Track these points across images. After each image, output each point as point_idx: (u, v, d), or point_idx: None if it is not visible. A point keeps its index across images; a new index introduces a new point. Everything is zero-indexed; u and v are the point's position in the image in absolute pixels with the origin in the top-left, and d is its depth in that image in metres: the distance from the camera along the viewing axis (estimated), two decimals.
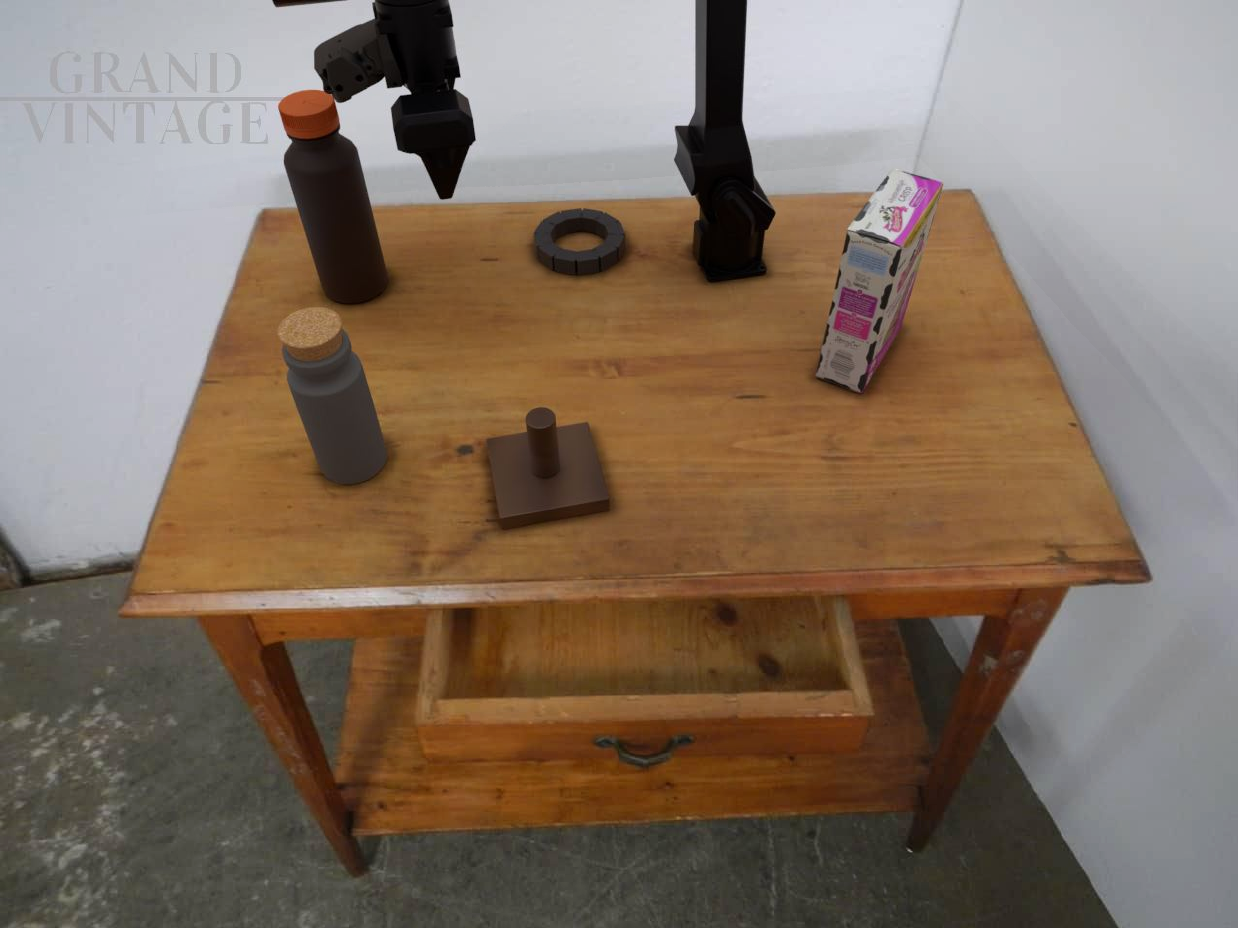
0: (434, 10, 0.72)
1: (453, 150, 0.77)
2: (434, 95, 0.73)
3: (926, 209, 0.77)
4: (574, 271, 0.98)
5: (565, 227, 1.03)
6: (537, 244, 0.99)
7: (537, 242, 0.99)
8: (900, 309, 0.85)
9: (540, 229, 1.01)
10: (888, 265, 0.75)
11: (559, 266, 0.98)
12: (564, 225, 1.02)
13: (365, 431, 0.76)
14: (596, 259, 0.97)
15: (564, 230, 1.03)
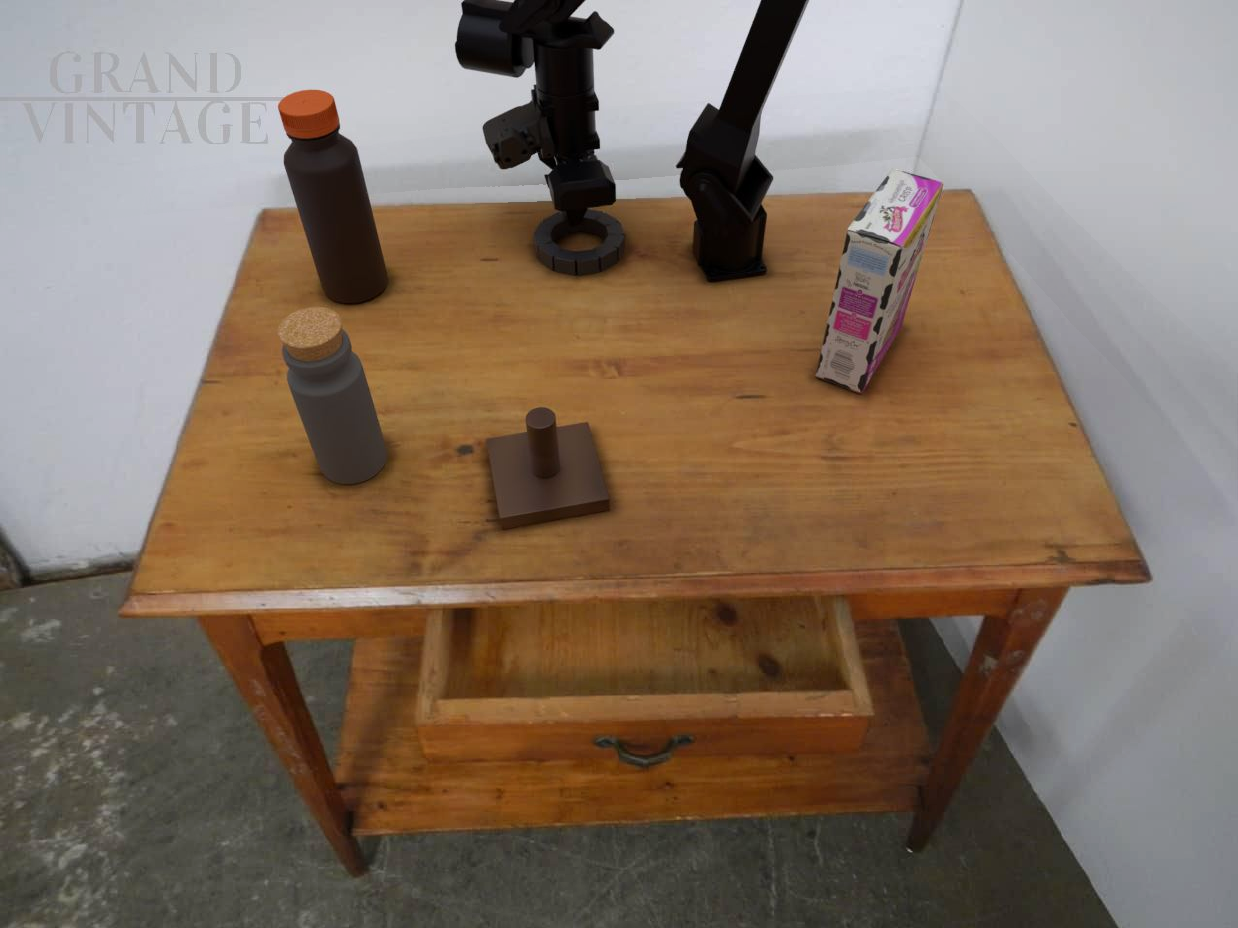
0: (586, 98, 0.91)
1: None
2: (584, 165, 0.92)
3: (926, 209, 0.77)
4: (574, 271, 0.98)
5: (565, 227, 1.03)
6: (537, 244, 0.99)
7: (537, 242, 0.99)
8: (900, 309, 0.85)
9: (540, 229, 1.01)
10: (888, 265, 0.75)
11: (559, 266, 0.98)
12: (564, 225, 1.02)
13: (365, 431, 0.76)
14: (596, 259, 0.97)
15: (564, 230, 1.03)
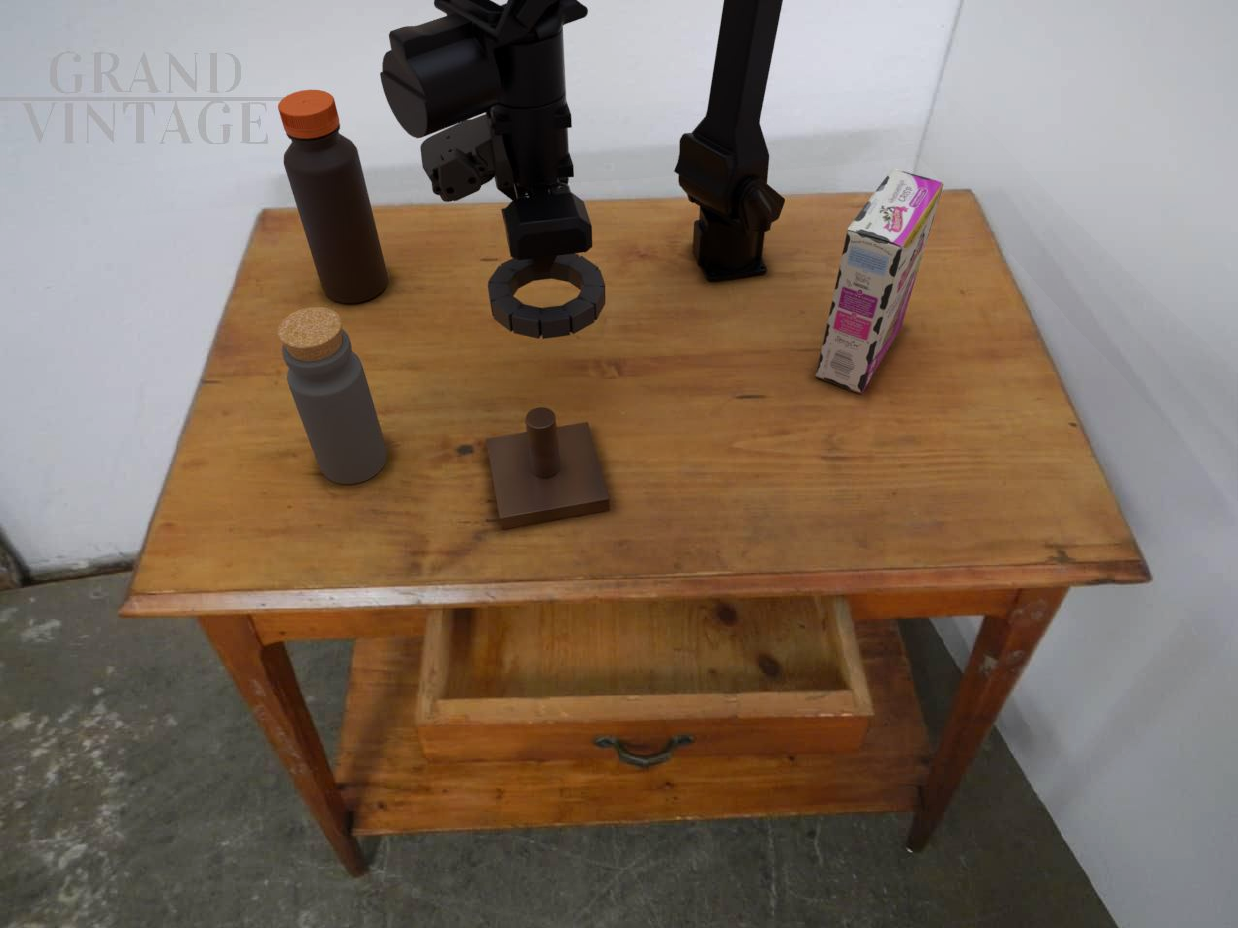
0: (554, 111, 0.69)
1: None
2: (550, 199, 0.70)
3: (926, 209, 0.77)
4: (538, 334, 0.76)
5: (530, 274, 0.80)
6: (491, 297, 0.77)
7: (491, 294, 0.77)
8: (900, 309, 0.85)
9: (496, 277, 0.79)
10: (888, 265, 0.75)
11: (518, 327, 0.76)
12: (528, 271, 0.80)
13: (365, 431, 0.76)
14: (566, 319, 0.75)
15: (529, 278, 0.81)
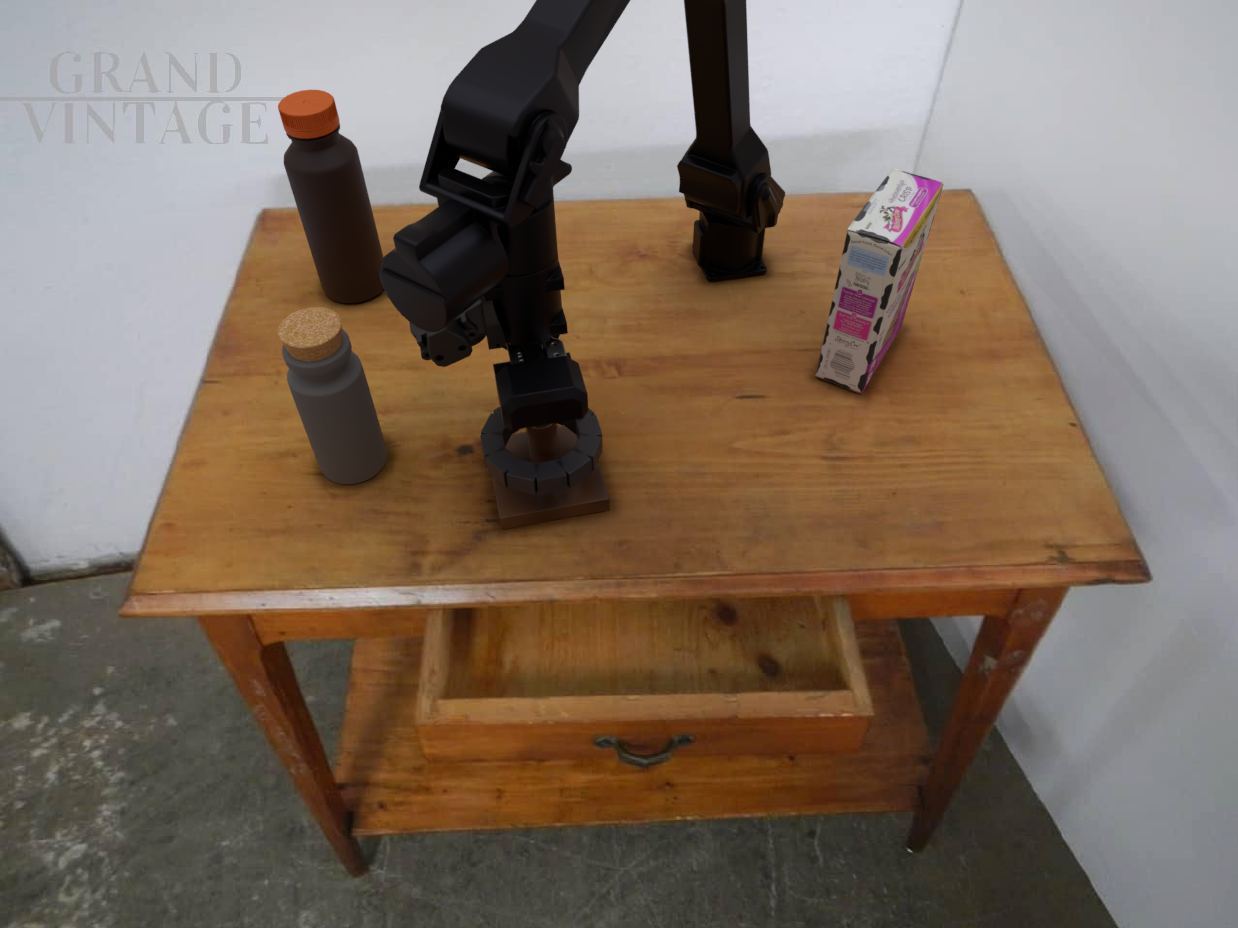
0: (546, 276, 0.66)
1: None
2: (543, 365, 0.67)
3: (926, 209, 0.77)
4: (534, 490, 0.73)
5: None
6: (484, 452, 0.74)
7: (484, 448, 0.74)
8: (900, 309, 0.85)
9: (489, 426, 0.76)
10: (888, 265, 0.75)
11: (514, 484, 0.73)
12: None
13: (365, 431, 0.76)
14: (563, 476, 0.72)
15: None
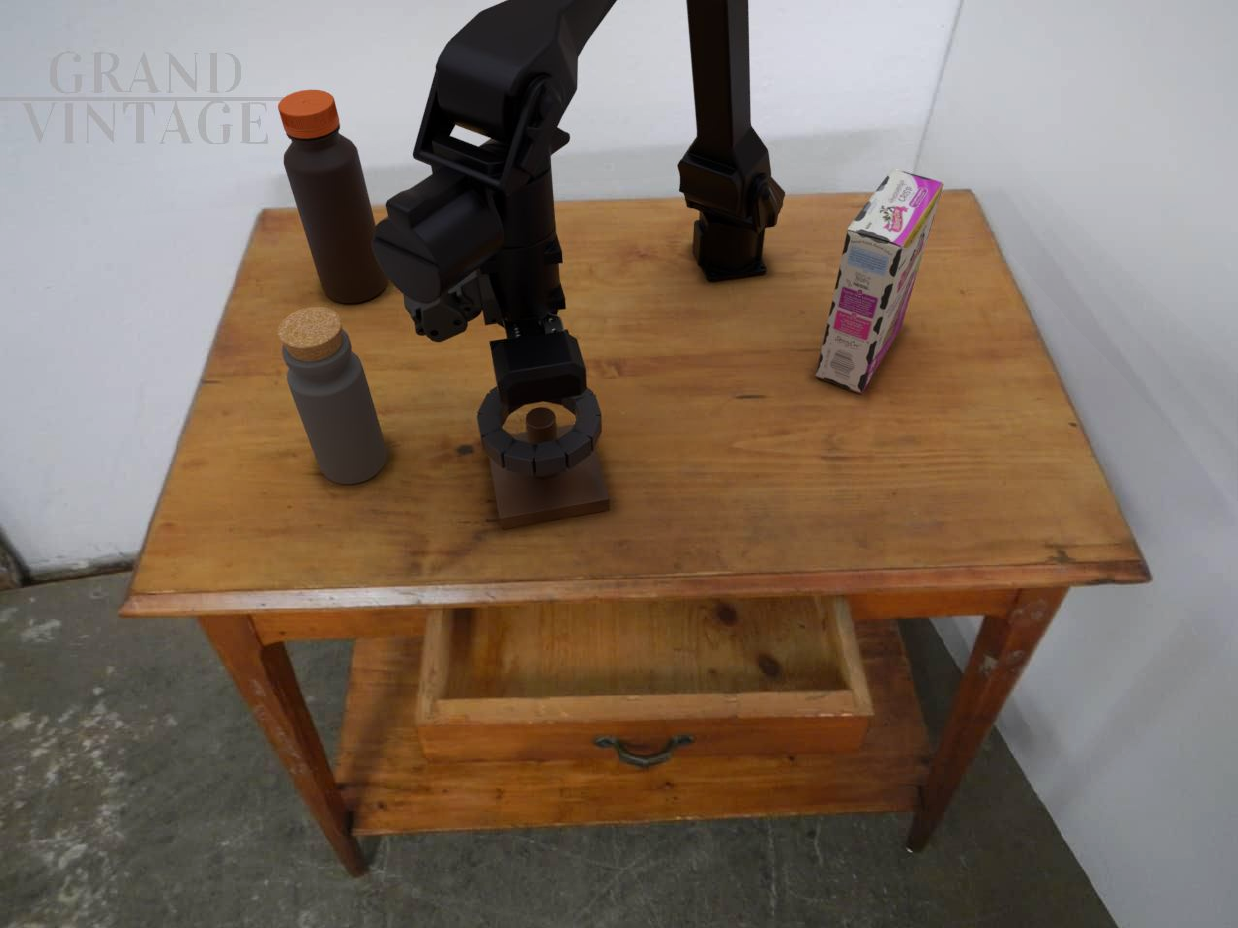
0: (543, 248, 0.64)
1: None
2: (541, 340, 0.65)
3: (926, 209, 0.77)
4: (532, 472, 0.71)
5: None
6: (481, 432, 0.72)
7: (481, 429, 0.73)
8: (900, 309, 0.85)
9: (486, 406, 0.74)
10: (888, 265, 0.75)
11: (511, 465, 0.71)
12: None
13: (365, 431, 0.76)
14: (562, 457, 0.71)
15: None
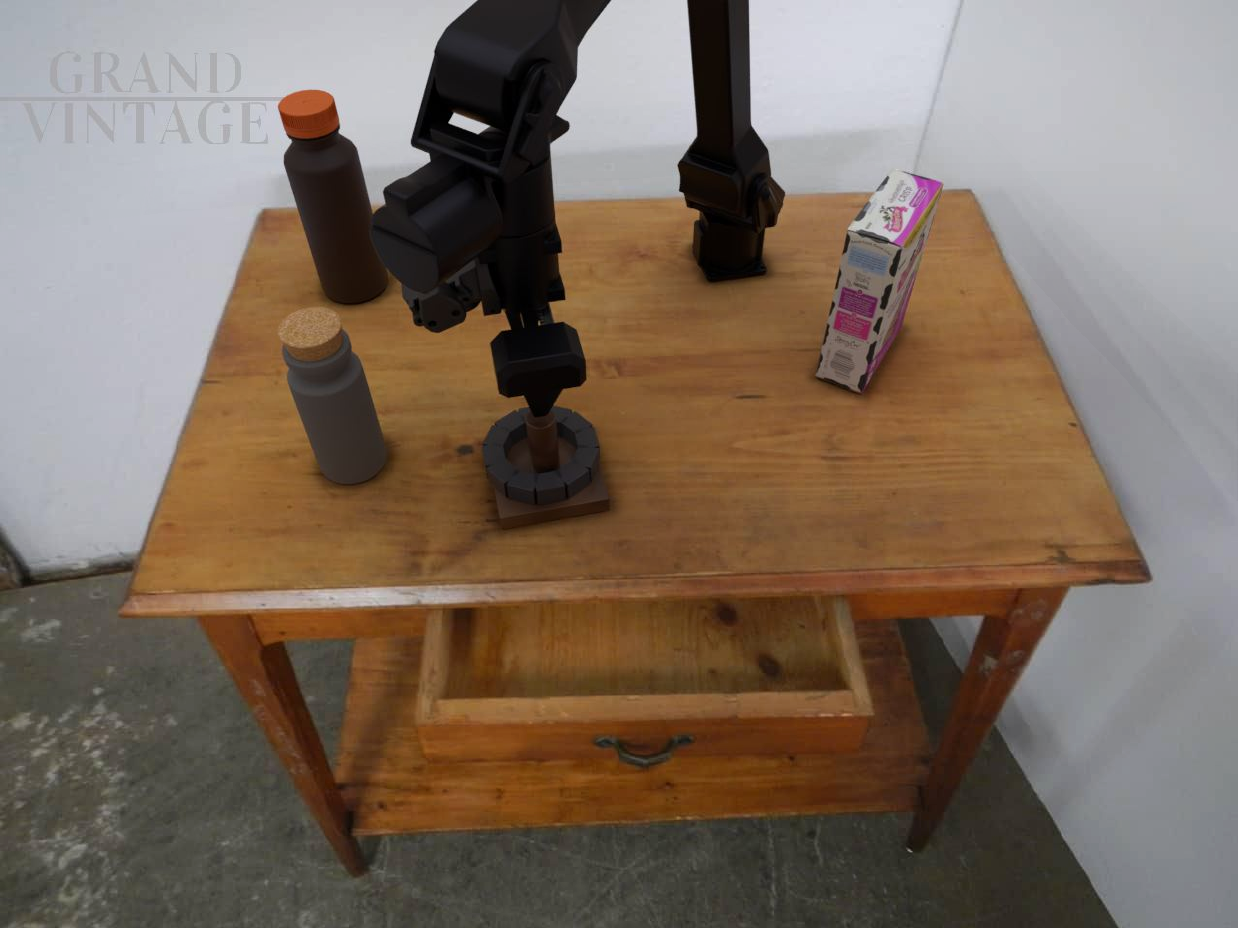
0: (543, 238, 0.64)
1: None
2: (540, 331, 0.65)
3: (926, 209, 0.77)
4: (533, 500, 0.75)
5: (523, 431, 0.80)
6: (486, 462, 0.76)
7: (486, 459, 0.77)
8: (900, 309, 0.85)
9: (490, 438, 0.78)
10: (888, 265, 0.75)
11: (514, 494, 0.75)
12: (522, 429, 0.80)
13: (365, 431, 0.76)
14: (561, 487, 0.75)
15: (523, 434, 0.80)
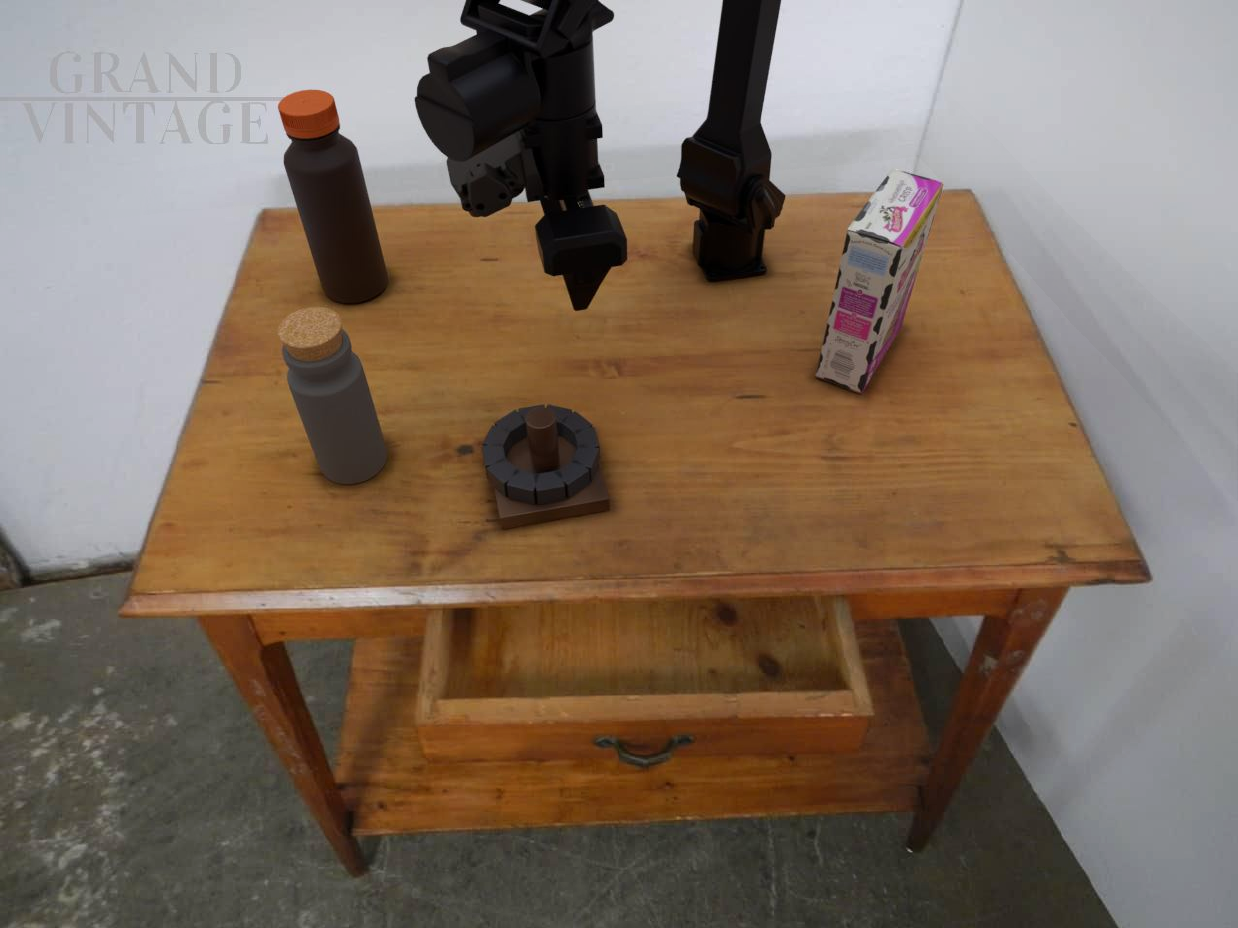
0: (584, 122, 0.67)
1: None
2: (583, 212, 0.68)
3: (926, 209, 0.77)
4: (533, 500, 0.75)
5: (523, 431, 0.80)
6: (486, 462, 0.76)
7: (486, 459, 0.77)
8: (900, 309, 0.85)
9: (490, 438, 0.78)
10: (888, 265, 0.75)
11: (514, 494, 0.75)
12: (522, 429, 0.80)
13: (365, 431, 0.76)
14: (561, 487, 0.75)
15: (523, 434, 0.80)
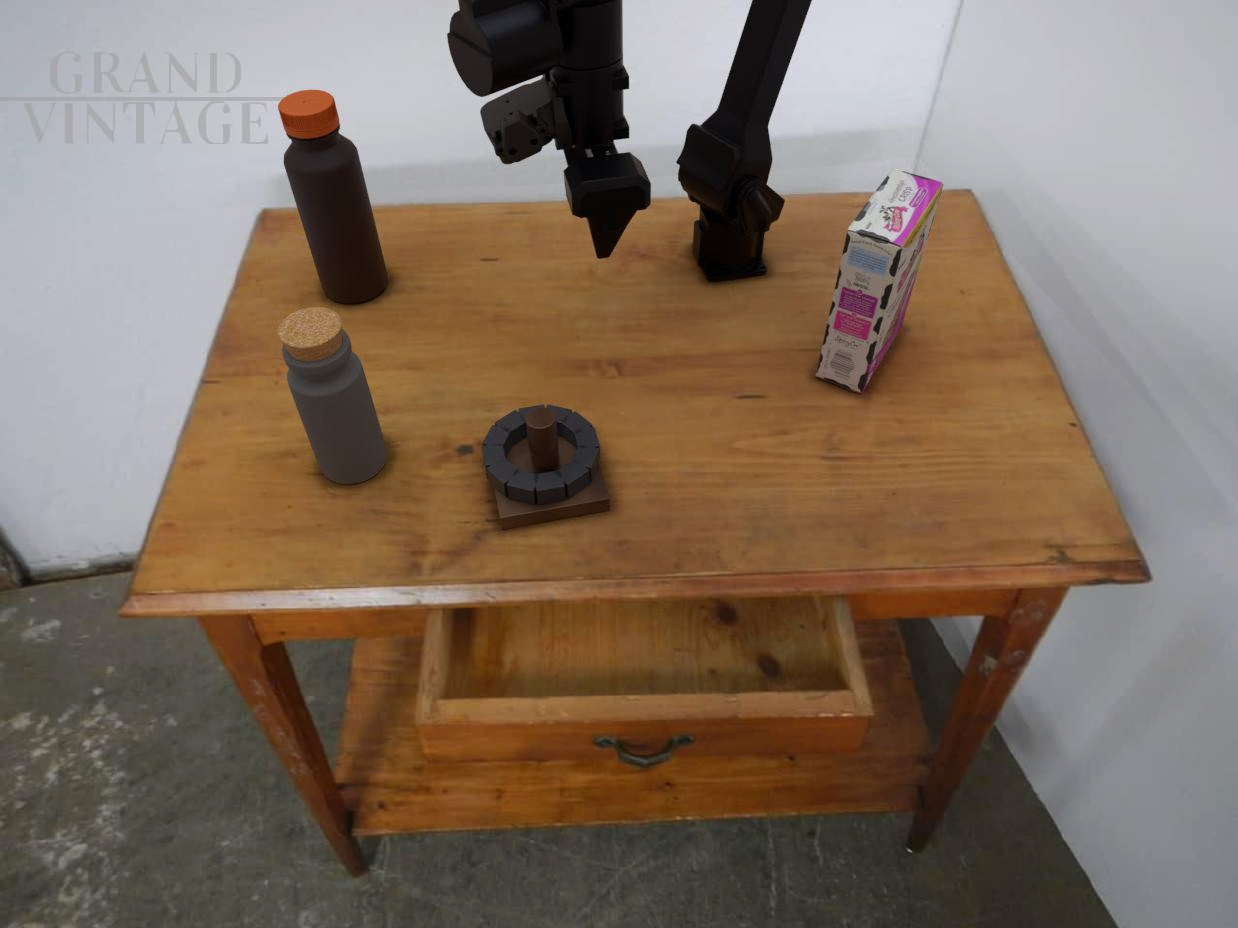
0: (613, 73, 0.71)
1: None
2: (609, 159, 0.72)
3: (926, 209, 0.77)
4: (533, 500, 0.75)
5: (523, 431, 0.80)
6: (486, 462, 0.76)
7: (486, 459, 0.77)
8: (900, 309, 0.85)
9: (490, 438, 0.78)
10: (888, 265, 0.75)
11: (514, 494, 0.75)
12: (522, 429, 0.80)
13: (365, 431, 0.76)
14: (561, 487, 0.75)
15: (523, 434, 0.80)
